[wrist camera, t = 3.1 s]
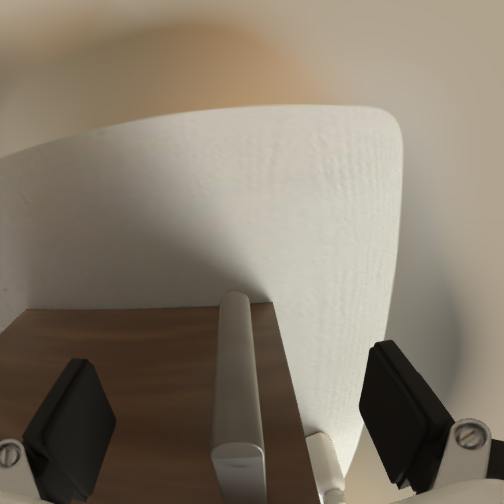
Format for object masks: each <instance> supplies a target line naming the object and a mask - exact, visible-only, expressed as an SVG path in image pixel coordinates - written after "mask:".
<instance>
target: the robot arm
mask: <svg viewBox="0 0 504 504" xmlns="http://www.w3.org/2000/svg"><path fill="white" fill-rule="evenodd" d="M359 410H360V414H361V416H362V418H363V420H364V422H365V425H366V427H367V429H368V431H369V434H370V436H371V438H372V440H373V443H374V445H375V447H376V449H377V451H378V454H379V456H380V458H381V461H382V463H383V465H384V467H385V470H386V472H387V475H388V477H389V479H390V481H391V483H393V484H394V483H396V484H397V486H398V489H399V490H400V489H403V488H405V487H408V486H411V487H412V490H413V491H415V492H414V494H413V496H412V497H409V498H406V499H403V500H401V501H397V502H394V503H391V504H504V441H500V440H495V439H491V432H490V430H489V428H488V427H487V426H486V425H485V424H484V423H483V422H481V421H479V420H476V419H472V418H471V419H470V418H466V419H461V420H459V421H458V422H455V421H454V420H453V418H452V417H451V415H450V414H449V412H448V411H447V410H446V409H445V407H444V406H443V404H442V403H441V401H440V400H439V399H438V397H437V396H436V395H435V393H434V392H433V391H432V389H431V388H430V387H429V385H428V384H427V383H426V381H425V380H424V379H423V377H422V376H421V375H420V374H419V373H418V372H417V371H416V370H415V368H414V367H413V366H412V365H411V363H410V362H409V361H408V359H407V358H406V357H405V356H404V354H403V353H402V352H401V350H400V349H399V348H398V346H397V345H396V344H395V342H394V341H393V340H387V341H381V342H376V343H375V344H374V347H371V348H370V350H369V356H368V361H367V367H366V372H365V378H364V383H363V388H362V392H361V397H360V402H359ZM115 426H116V417H115V415H114V412H113V410H112V408H111V406H110V404H109V401H108V399H107V397H106V394H105V392H104V389H103V387H102V385H101V382H100V380H99V377H98V375H97V372H96V369H95V367H94V365H93V364H92V363H90V362H89V360H88V359H82V358H72V359H71V360H70V361H69V363H68V364H67V365H66V367H65V368H64V370H63V371H62V373H61V374H60V376H59V377H58V379H57V380H56V382H55V383H54V385H53V386H52V388H51V389H50V391H49V393H48V394H47V396H46V397H45V399H44V400H43V402H42V404H41V405H40V407H39V408H38V410H37V412H36V413H35V415H34V416H33V418H32V420H31V421H30V423H29V425H28V426H27V428H26V430H25V431H24V433H23V435H22V438H23V439H24V440H23V442H22V444H21V443H20V442H19V441H18V440H15V439H5V440H2V441H0V504H71V501H72V499H74V500H77V501H81V502H85V503H86V502H87V499H88V496H91V495H92V494H93V491H94V488H95V485H96V482H97V479H98V475H99V472H100V469H101V466H102V463H103V460H104V457H105V455H106V452H107V449H108V446H109V443H110V440H111V437H112V435H113V432H114V429H115Z"/></svg>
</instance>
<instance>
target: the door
mask: <svg viewBox="0 0 504 504" xmlns="http://www.w3.org/2000/svg"><path fill="white" fill-rule="evenodd" d="M72 358H82V359H88V360H89V362H90V363H92V364H93V365H94V367H95V369H96V372H97V375H98V377H99V380H100V382H101V385H102V387H103V389H104V392H105V394H106V397H107V399H108V401H109V404H110V406H111V408H112V410H113V412H114V415H115V417H116V426H115V429H114V432H113V435H112V437H111V440H110V443H109V446H108V449H107V452H106V455H105V457H104V460H103V463H102V466H101V469H100V472H99V475H98V479H97V482H96V485H95V488H94V491H93V494H92V495H91V496H88V499H87V502H86V503H85V502H81V501H77V500H74V499H72V501H71V504H321V503H320V499H319V495H318V490H317V486H316V482H315V477H314V473H313V469H312V464H311V460H310V456H309V452H308V447H307V443H306V439H305V434H304V430H303V426H302V422H301V418H300V413H299V409H298V405H297V401H296V396H295V392H294V388H293V384H292V380H291V376H290V371H289V367H288V363H287V359H286V355H285V351H284V347H283V342H282V338H281V334H280V330H279V326H278V322H277V318H276V314H275V310H274V305H273V302H271V303H258V304H250V302H249V299H248V297H247V296H246V295H245V294H244V293H243V292H240V291H236V290H235V291H229V292H227V293H226V294H224V295H223V296H222V298H221V301H220V306H211V307H191V308H167V309H133V310H35V309H26V310H25V311H24V312H23V313H22V314H21V315H20V316H19V317H18V318H16V319H15V320H14V321H13V322H12V323H11V324H10V325H9V326H8V327H7V328H6V329H5V330H4V331H3V332H2V333H1V334H0V441H2V440H5V439H15V440H18V441H19V442H20V443H21V444H22V442H23V440H24V439H23V438H22V435H23V433H24V431H25V430H26V428H27V426H28V425H29V423H30V421H31V420H32V418H33V416H34V415H35V413H36V412H37V410H38V408H39V407H40V405H41V404H42V402H43V400H44V399H45V397H46V396H47V394H48V393H49V391H50V389H51V388H52V386H53V385H54V383H55V382H56V380H57V379H58V377H59V376H60V374H61V373H62V371H63V370H64V368H65V367H66V365H67V364H68V363H69V361H70V360H71V359H72Z"/></svg>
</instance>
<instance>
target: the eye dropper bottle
mask: <svg viewBox="0 0 504 504" xmlns="http://www.w3.org/2000/svg"><path fill="white" fill-rule="evenodd" d="M306 443H307V447H308V452H309V456H310V460H311V464H312V469H313V473H314V477H315V482H316V486H317V490H318V493H319V494H320V495H322V496H323V501H324V504H346V501H345V497H344V494H343V490H344V488H345V482H344V478H343V475H342V471H341V468H340V465H339V462H338V458H337V455H336V452H335V449H334V445H333V442H332V440H331V438H330V437H329V436H327V435H326V434H324V433H321V432H320V433H316V434H314V435H311V436H308V437H307V438H306Z"/></svg>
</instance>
